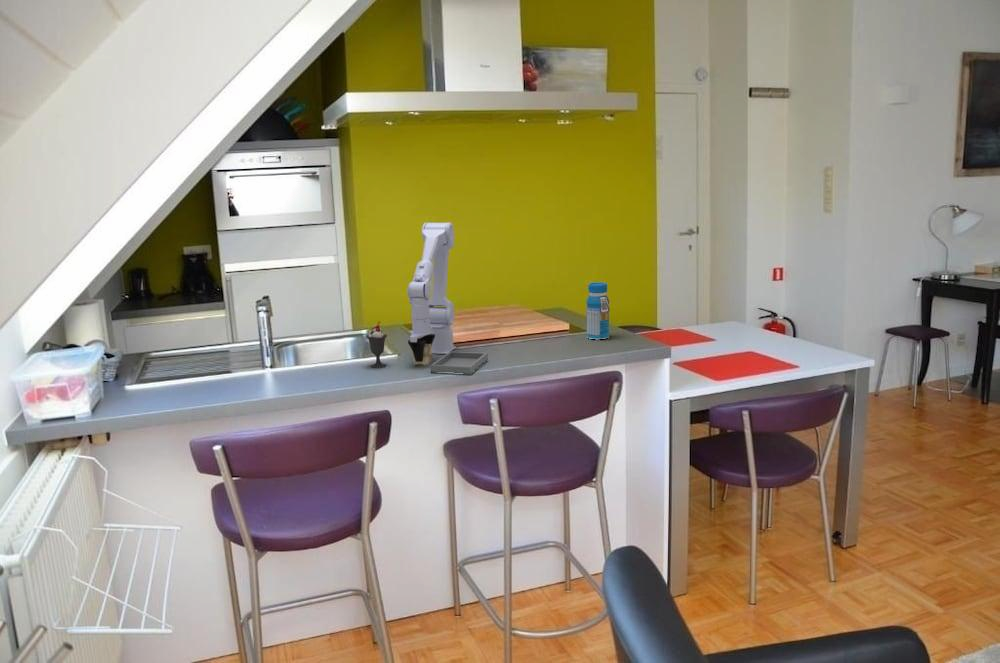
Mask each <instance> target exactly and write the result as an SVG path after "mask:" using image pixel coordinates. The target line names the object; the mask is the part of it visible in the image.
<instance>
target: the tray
mask: <svg viewBox="0 0 1000 663" xmlns="http://www.w3.org/2000/svg"><path fill="white" fill-rule="evenodd" d="M488 354H489V353H488V352H474V351H473V352H467V351H450V352H449V353H447V354H443V356H442V357H440V358H439V359H438V360H436V361H434V362H432V364H431V365H430V373H431V372H454V373H463V374H466V375H465V376H472V375H473V374H474V373H473V371H474V370H476V369H477V368H478V367H479V366H481V365H482V364H483V363H484V362H486V361H487V360H488V361H489V355H488ZM488 361H487V362H488ZM487 362H486V363H487ZM484 364H485V363H484ZM484 364H483V365H484ZM483 365H482V366H483ZM482 366H481V367H482ZM477 370H478V369H477ZM477 370H476V371H477ZM472 373H473V374H472Z"/></svg>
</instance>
